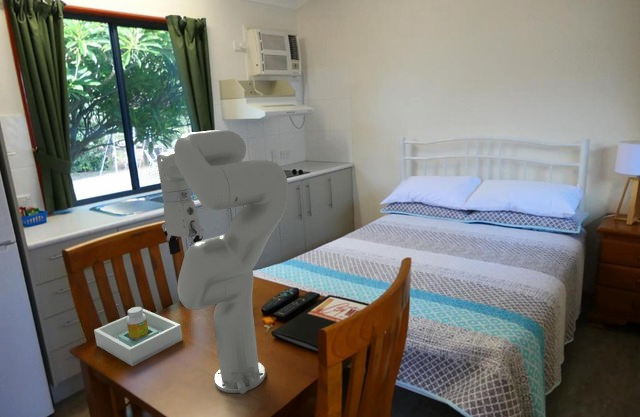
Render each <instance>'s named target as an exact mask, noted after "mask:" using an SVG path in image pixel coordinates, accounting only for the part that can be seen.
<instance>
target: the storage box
mask: <svg viewBox="0 0 640 417" xmlns="http://www.w3.org/2000/svg"><path fill="white" fill-rule="evenodd" d="M142 311H143V314H145V315H146V319H147V325H148V331H149V334H148V335H146V336H144V337H142V338H139V339H137V340H135V341H133V340H131V339H130V338H129V332H128V327H127V318H128V317H129V316H128V315H126V316H124V317H121V318H119V319H116V320H114V321H112V322H109V323H107V324H105V325H103V326H101V327H98V328H95V329H94V330H93V331H94V332H93V333H94V337H95V342H96V346H97V347H99V348H101V349H103V350H105V351H106V352H107V353H109V354H111V355H112V356H114V357H116V358H118V359H119V360H121V361H123V362H125V363H126V364H127V365H129V366H130V367H134V366H136V365H138V364H139V363H142V362H144V361H145V360H147V359H149V358H151V357H153V356H155V355H157V354H159V353H160V352H162V351H164V350H167V349H168V348H171V347H172V346H174V345H176V344H178V343H180V342H182V341H183V340H184V339H183V332H182V327H181V326H182V324H180V323H178V322H176V321H173V320H170V319H168V318H166V317H164V316H161V315H159V314H157V313H154V312H151V311H150V310H147V309H145V308H142Z"/></svg>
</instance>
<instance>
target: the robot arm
mask: <svg viewBox="0 0 640 417" xmlns="http://www.w3.org/2000/svg"><path fill="white" fill-rule="evenodd" d="M246 146H247V145H246V143H245V140H244V139H243V137H242V136H241V135H240V134H239V133H237V132H234V131H232V130H227V129H217V130H215V129H214V130H206V131H197V132H195V131H194V132H188V133H184V134H182V135H180V136H179V138H177V140H176V142H175V145H174V147H173V150H172V151H166V152H160V153H159V154H157V157H156V164H157V169H158V175H159V181H160V182H159V183H160V187H161V194H162V200H163V215H164V216H163V217H164V223H162V224H161V229H162V230H163V234H164V236H165V237H166V238H165V239H166V241H167V244H168V249H169V255H176V254H179V253H180V252H181V247H180V240H179V238H186V239H188V241H189V242H190V246H189V247H188V248H187V250H186V251H185V253H184V257H183V259H182V260H183V261H182V264H181V267H180V268H181V269H180V271H179V275H178V278H177V279H178V280H177V294H178V299H179V301H180V302H181V304H182V305H183V306H184V307H185V308H186V309H187V310H190V311H200V310H202V309H205V308H208V307H211V306H214V305H215V304H217V305H215V307H214V308H215V309H214V312H213V326H214V334H215V342H216V350H217V356H218V365H219V370H218V371H216V373H215V375H214V385H215V386H216V388H217V389H218V390H220V391H222V392H224V393H227V394H228V393H229V394H238V393H239V394H246V393H247V392H248V391H250V390H253V389H255V388H256V387H258V386H260V384H261V383H262V382H263V381H264V380H265V378H266V368H265V366H264V365H263V364H262V363H261V362H259V359H258V358H259V357H258V347H257V340H256V330H255V329H256V328H255V320H254V309H253V308H254V307H253V306H254V305H253V289H254V270H253V269H254V267H256V265H257V264H258V261H259V259H260V257H261V255H262V254H263V251H264V250H265V247H266V245H267V244H268V240H269V239H270V237H271V235H272V233H273V232H274V230H275V229H276V228H277V226H278V224H279V223H280V222H281V219H282V218H283V216H284V214H285V211H286V208H287V204H288V198H289V183H288V182H289V181H288V177H287V174H286V173H285V170H284V169H283V167H282V166H281V165H280V164H278V163H277V162H274V161H272V160H267V159H253V160H252V159H251V160H250V159H249V160H245V161H243V160H244V159H245V156H246V154H247V147H246ZM191 190H192V191H191ZM191 192H193V194H194V195H195V197H196V199H197V200H198V201H199V203H200V204H201V205H202V206H203V207H204V208H205V209H207V210H210V211H222V210H228V209H233V208H237V207H242V206H243V207H242V208H241V209H240V210H239V211H238V212H237V213H236V214H235V216H234V217H233V218H232V219H231V221H230V224H229V227H228V229H227V231H226V233H223V234H220V235H216V236H214V237H213V236H212V237H209V238H206V239H203V238H204V232H205V229H204V228H203V227H202V226H201V225H200V224H201V223H200V219H199V214H198V210H197V207H196V204H195V202H194V200H193V198H192V193H191Z"/></svg>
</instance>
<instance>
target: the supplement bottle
mask: <svg viewBox="0 0 640 417" xmlns="http://www.w3.org/2000/svg"><path fill="white" fill-rule="evenodd" d="M142 309H143V308H142V307H141V306H134V307H131V308H130V309H128V310H127V316H129V317H128V318H127V327H128V332H129V338H130V339H131V340H133V341H135V340H137V339H139V338H142V337H144V336H146V335H148V334H149V331H148V325H147V319H146V315H145V314H143V311H142Z"/></svg>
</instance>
